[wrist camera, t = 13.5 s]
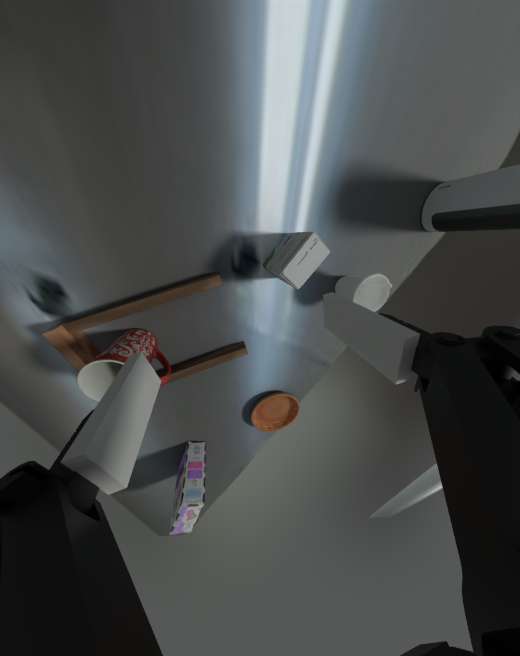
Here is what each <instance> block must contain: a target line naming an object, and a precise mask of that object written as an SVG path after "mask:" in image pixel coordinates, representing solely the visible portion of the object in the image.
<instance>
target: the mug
mask: <svg viewBox="0 0 520 656" xmlns="http://www.w3.org/2000/svg"><path fill="white" fill-rule="evenodd" d="M139 352H142V353H143V354H144V356H145V357H146V359H147V360H148V362H149V363H151V361H152V358H157V359H158V360H159V361H160V362H161V364H162V365H163V366H164V368H165V369H166V374H165V375H164V376H162V377H159V378H160V380H161V384H160V385H162V384H164V383H166V382H167V381H168V379H169V377H170V373H171V367H170V364H169V362H168V360H167V359H166V358H165V356H164V355H163V354H162V353H161V352H160V351H159V350H158V349H157V341H156V338H155V337H154V335H153V334H151V333H150V332H148V331H146V330H144V329H139V328H134V329H130V330H127V331H126V332H124V333H123V334H122V335H121V336H120V337H119V338H117V339H116V340H115V341H114V342H113V343H112V344H110V345H109V346H108V347H107V348H106V349H105V350H104V351H103V352H102V353H100V354H99V355H98V356H97V357H96V358H95V359H94V360H93V361H91V362H90V363H88V364H87V365H85V366H84V367H83V368H82V369H81V370H80V372H79V373H78V376H77V384H78V387H79V389H80V390H81V391H82V393H83V394H85V395H86V396H87V397H89V398H90V399H92V400H95V401H97V402H100V400H101V399H102V397H103V396H104V394H105V393H106V391H107V390H108V388H109V386H110V385H111V383H112V382H113V380H114V379H115V377H116V376H117V374H118V373H119V371H120V370H121V368H122V366H123V365H124V363H125V362H126V360H127V359H128V357H129V356H130V355H132V354H135V353H139Z"/></svg>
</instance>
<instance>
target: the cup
mask: <svg viewBox="0 0 520 656" xmlns="http://www.w3.org/2000/svg"><path fill="white" fill-rule="evenodd" d="M391 287H392V284H390V282H389V280H388V279H387V278H386V276H384V275H382V274H379V273H375V274H371V275H368V276H365V277H359V278H356V277H351V276H344V277H342V278H340V279H339V280H338V281H337V283H336V285H335V293H336V294H338V295H340V296H342V297H344V298H346V299H348V300H350V301H352V302H355V303H357V304H359V305H361V306H363V307H365V308H367V309H369V310H371V311H373V312H375V311H377V310H378V309H379V308H381V307H382V306H383V304H384V303H385V302H386V300H387V298H388V296H389V291H390V288H391Z"/></svg>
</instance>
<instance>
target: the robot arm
mask: <svg viewBox="0 0 520 656" xmlns="http://www.w3.org/2000/svg"><path fill="white" fill-rule="evenodd" d="M323 305H324V322H325V327H326V328H327V329H328V330H329V331H331V332H332V333H333V334H334V335H335V336H337V337H338V338H339V339H340V340H342V341H343V342H344V343H345V344H347V345H348V346H349V347H350V348H352V349H353V350H354V351H355V352H356V353H358V354H359V355H360V356H362V357H363V358H364V359H365V360H366V361H367V362H369V363H370V364H371V365H373V366H374V367H375V368H376V369H377V370H379V371H380V372H381V373H383V374H384V375H385V376H386V377H387V378H388V379H390V380H391V381H392V382H393V383H395V384H399V383H402V382H404V381H407V380H409V379H410V375H411V370H412V371H414V372H415V373H416V374H418V378H417V381H416V385H415V392H417V391H418V388H419V390H420V394H421V398H422V402H423V407H424V411H425V415H426V419H427V423H428V428H429V431H430V436H431V440H432V444H433V449H434V453H435V457H436V461H437V465H438V470H439V474H440V478H441V482H442V486H443V490H444V495H445V499H446V503H447V507H448V511H449V515H450V520H451V523H452V528H453V532H454V536H455V540H456V545H457V549H458V553H459V557H460V561H461V567H462V575H463V578H462V597H463V605H464V610H465V616H466V620H467V625H468V629H469V634H470V638H471V643H472V647H473V652H474V653H473V652H471V651H467V650H464V649H460V648H456V647H449V645H448V643H447V642H446V641H444V642H437V643H428V644H421V645H418V646H416V647H415V648H413V649H411V650H409V651H407V652H406V653H404V654H402V655H400V656H520V381H518V380H516V379H515V378H514V377H512V375H513V374H514V372H515V371H517V372H518V373H519V374H520V329H517V328H514V327H507V326H490V327H487V328H485V329H484V330H483V333H482V335H481V337H475V338H464V337H462V336H459V335H456V334H452V333H445V332H439V333H433V334H430V333H428V332H426V331H424V330H422V329H419V328H417V327H415V326H413V325H411V324H408V323H405V322H404V321H402V320H399V319H397V318H395V317H393V316H391V315H387V314H382V313H379V314H377V313H375V312H373V311H371V310H369V309H367V308H365V307H363V306H361V305H359V304H357V303H355V302H352V301H350V300H348V299H346V298H344V297H342V296H340V295H338V294H336V293H334V292H330V293H327V294H324V295H323ZM160 384H161V380H160V378H159V377H158V375H157V374H156V372H155V371H154V369H153V368H152V366H151V365H150V363H149V362H148V360H147V359H146V357H145V356H144V354H143V353H142V352H139V353H135V354H132V355H130V356H129V357H128V359H127V360H126V362H125V363H124V365H123V366H122V368H121V370H120V371H119V373H118V374H117V376H116V377H115V379H114V380H113V382H112V383H111V385H110V386H109V388H108V390H107V391H106V393H105V394H104V396H103V397H102V399H101V400H100V402H99V403H98V405H97V406H96V408H95V409H94V410H92V411H91V412H90V413H89V414H88V415H87V416H86V417H85V418H84V419H83V421H82V422H81V424H80V425H79V427H78V428H77V429H76V432H74V434H73V435H72V437H71V438H70V439H71V440H70V441H68V443H67V444H66V446H65V447H64V449H63V450H62V452H61V453H60V455H59V456H58V458H57V459H56V461H55V462H54V464H53V465H52V467H51V468H50V470H48V469H46V468H45V467H43V466H41V465H40V464H38V463H37V462H35V461H28V462H26V463H24V464H22V465H19V466H18V467H16V468H14V469H13V470H11V471H10V472H9V473H7V474H6V475H5V476H3V477H2V478H1V479H0V656H163V655H162V652H161V650H160V647H159V645H158V643H157V640H156V638H155V635H154V633H153V630H152V628H151V625H150V623H149V621H148V618H147V616H146V613H145V611H144V608H143V606H142V604H141V601H140V599H139V596H138V594H137V591H136V589H135V586H134V584H133V582H132V579H131V577H130V574H129V572H128V569H127V567H126V565H125V562H124V560H123V557H122V555H121V552H120V550H119V548H118V545H117V543H116V540H115V538H114V536H113V533H112V530H111V528H110V526H109V523H108V521H107V519H106V516H105V513H104V511H103V509H102V506H101V504H100V502H98V500H96V499H95V498H96V496H97V493H98V491H99V489H101V490H102V491H104V492H105V493H107V494H108V495H109V494H112V493H114V492H117V491H120V490H122V489H125V488H127V486H128V483H129V480H130V477H131V474H132V470H133V467H134V464H135V461H136V458H137V455H138V452H139V449H140V446H141V443H142V439H143V436H144V433H145V430H146V427H147V424H148V421H149V418H150V415H151V412H152V408H153V405H154V402H155V399H156V396H157V393H158V390H159V387H160Z"/></svg>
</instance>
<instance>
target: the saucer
mask: <svg viewBox="0 0 520 656" xmlns="http://www.w3.org/2000/svg"><path fill="white" fill-rule="evenodd" d="M299 409H300V405H299V402H298V400H297V399H296V398H295V397H294V396H293V395H291V394H288V393H283V392H278V393H272V394H269V395H267V396H265V397H263V398H262V399H261V400H259V401H258V402H257V404H256V405H255V406H254V408H253V410H252V412H251V421H252V424H253V425H254V426H255V427H256V428H257V429H259V430H262V431H275V430H278V429H281V428H283V427H285V426H287V425H289V424H290V423H291V422H292V421H293V420H294V419H295V418H296V416H297V415H298V412H299Z"/></svg>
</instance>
